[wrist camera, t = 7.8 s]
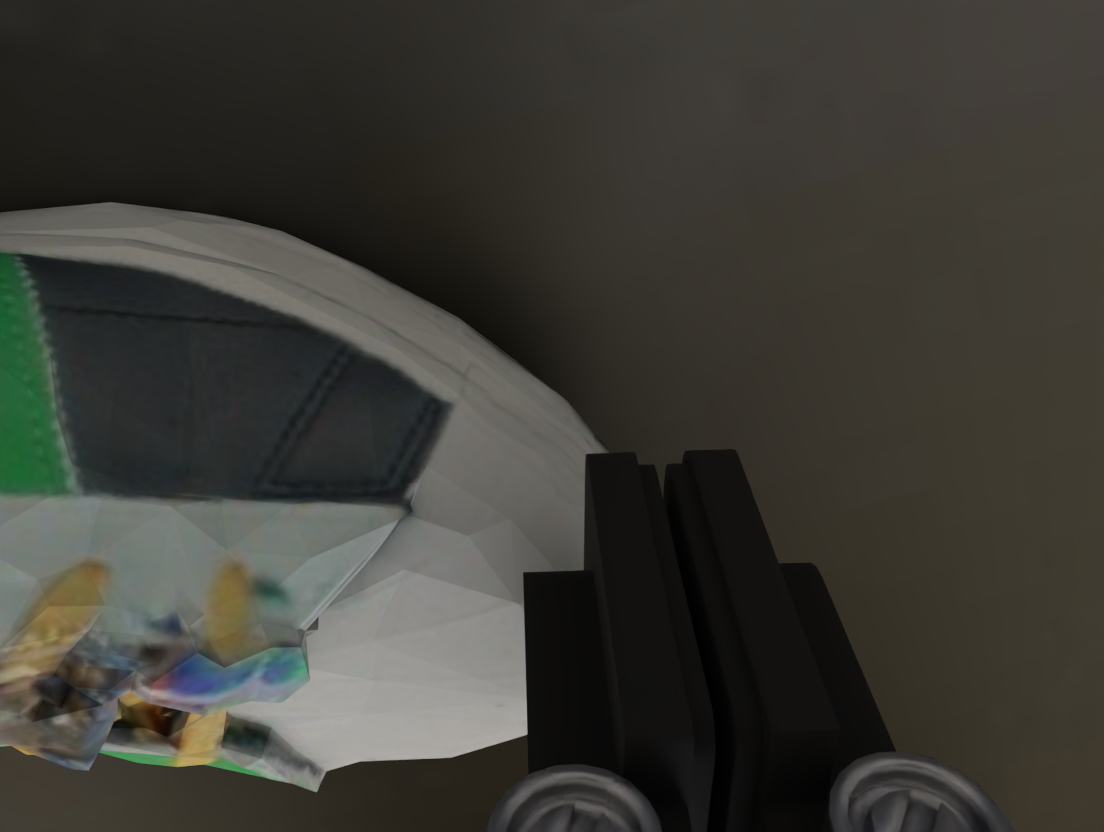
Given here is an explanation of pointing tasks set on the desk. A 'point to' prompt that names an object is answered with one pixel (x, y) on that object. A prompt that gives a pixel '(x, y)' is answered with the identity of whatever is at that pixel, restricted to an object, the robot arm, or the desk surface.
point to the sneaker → (260, 502)
